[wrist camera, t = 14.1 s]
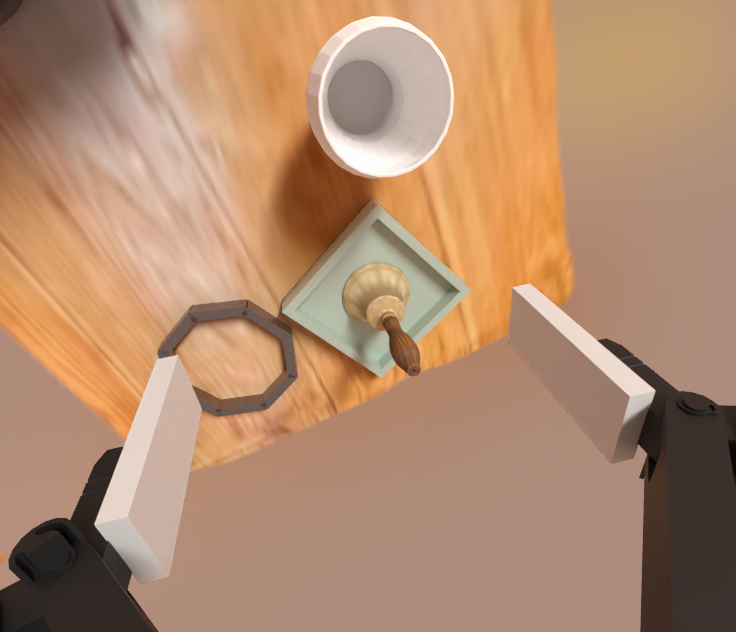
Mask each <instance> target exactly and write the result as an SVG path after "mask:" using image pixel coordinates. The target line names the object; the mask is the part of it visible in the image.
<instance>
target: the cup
mask: <svg viewBox="0 0 736 632" xmlns="http://www.w3.org/2000/svg"><path fill="white" fill-rule="evenodd" d="M453 102H454V91H453V84H452V77H451V73H450V71H449V68H448V66H447V63H446V61H445V58H444V56H443V55H442V54H441V52H440V51H439V49H438V48H437V47H436V45H435V44H434V43H433V41H432V40H431V39H429V38H428V37H427V36H426V35H424V34H423V33H422V32H421V31H419V30H418V29H417V28H415V27H414V26H413V25H411V24H410V23H407V22H404V21H401V20H398V19H396V18H393V17H368V18H365V19H361V20H358V21H355V22H352V23H350V24H349V25H347V26H346V27H344V28H343V29H341V30H340V31H339V32H337V33H336V34H334V35H333V36H332V37H331V38H330V39H329V40H328V42H327V43H326V44H325V45H324V47H323V48H322V49H321V50H320V51H319V53H318V54H317V57H316V59H315V61H314V63H313V66H312V68H311V70H310V72H309V78H308V84H307V89H306V103H307V115H308V118H309V121H310V124H311V128H312V131H313V133H314V135H315V137H316V139H317V140H318V142H319V144H320V145H321V147H322V149H323V150H324V152H325V153H326V154H327V155H328V156H329V157H330V158H331V159H332V160H333V161H334V162H335V163H336V164H337V165H338V166H340V167H341V168H343V169H345V170H347V171H349V172H350V173H352V174H354V175H358V176H362V177H366V178H370V179H374V178H391V177H396V176H399V175H402V174H405V173H408V172H411V171H412V170H414V169H415V168H417V167H419V166H420V165H422V164H423V163H425V162H426V161H427V160H428V159H429V158H430V157H431V155H432V154H433V153H434V152H435V151H436V150H437V149H438V147H439V146H440V144H441V142H442V140H443V139H444V137H445V135H446V134H447V130H448V127H449V124H450V121H451V118H452V114H453Z"/></svg>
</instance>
